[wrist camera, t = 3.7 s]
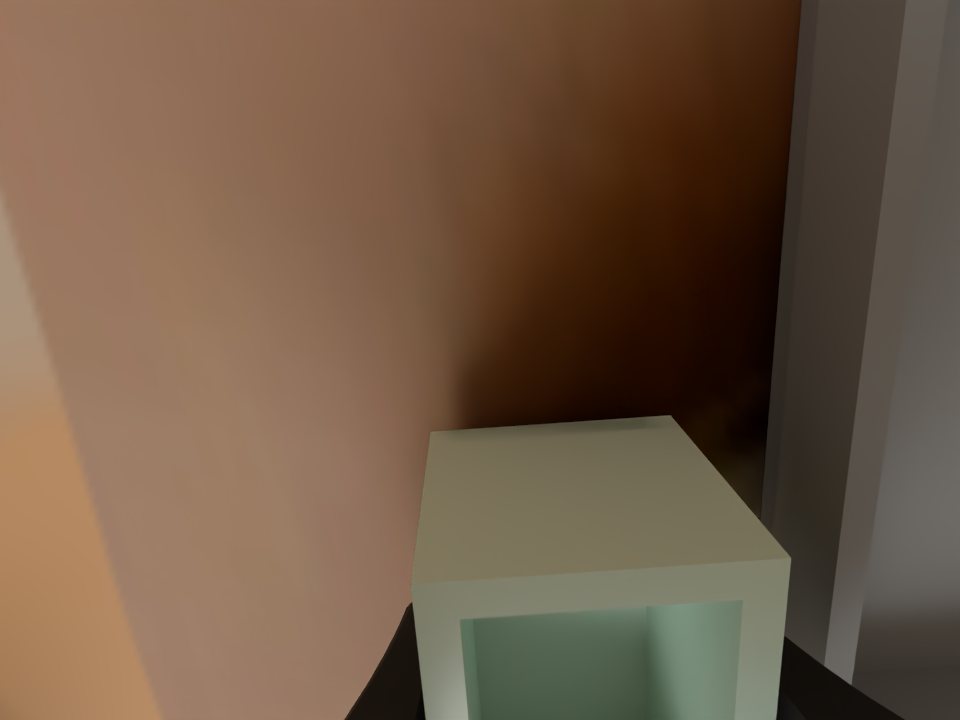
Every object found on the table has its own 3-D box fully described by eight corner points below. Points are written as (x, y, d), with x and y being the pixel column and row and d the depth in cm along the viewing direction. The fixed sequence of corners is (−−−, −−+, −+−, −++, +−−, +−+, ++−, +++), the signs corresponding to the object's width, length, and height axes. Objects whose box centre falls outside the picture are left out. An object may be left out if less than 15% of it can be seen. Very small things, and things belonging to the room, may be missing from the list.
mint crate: (662, 718, 15) (752, 967, 10) (458, 732, 15) (456, 988, 10) (670, 415, 13) (791, 558, 8) (430, 431, 13) (410, 584, 8)
